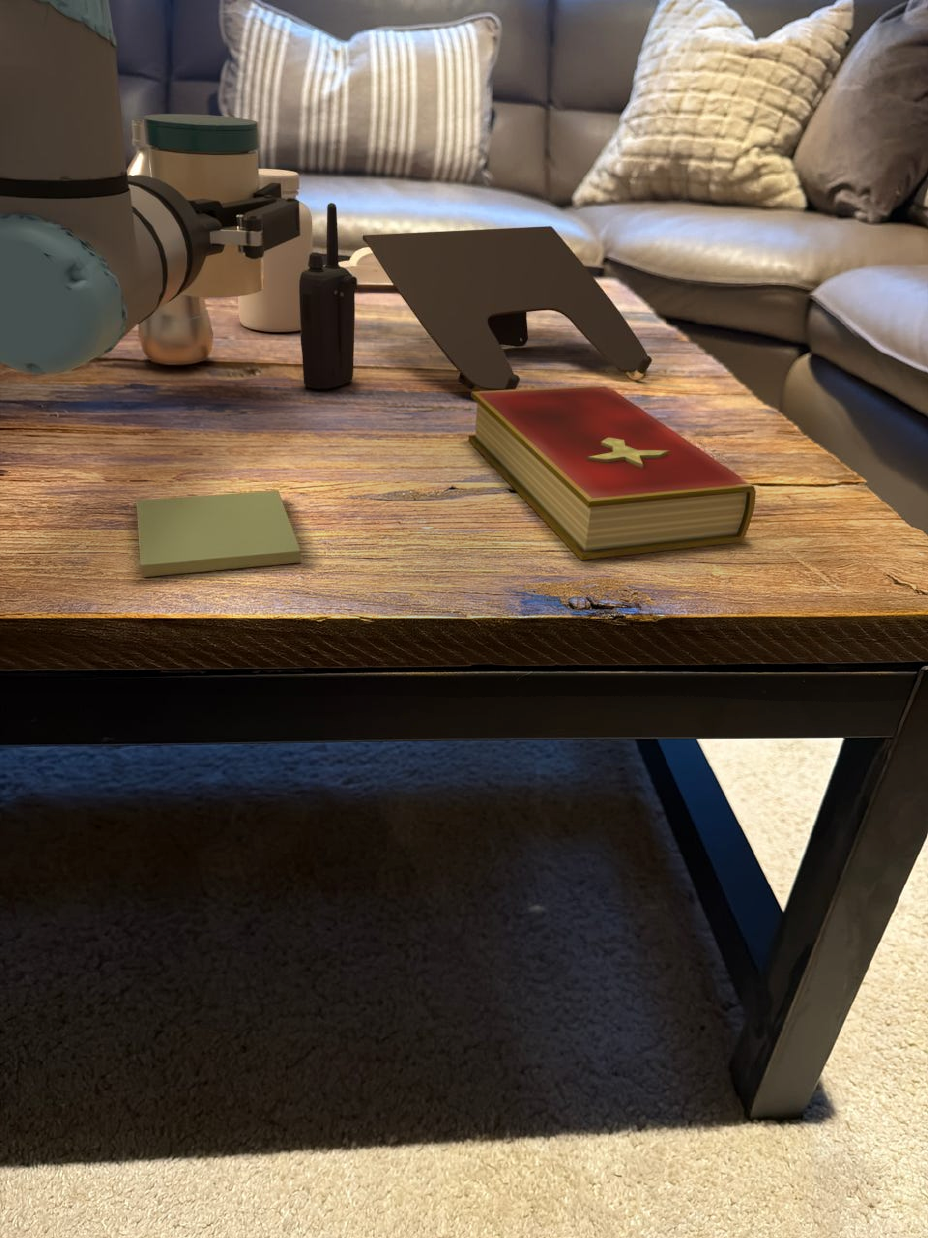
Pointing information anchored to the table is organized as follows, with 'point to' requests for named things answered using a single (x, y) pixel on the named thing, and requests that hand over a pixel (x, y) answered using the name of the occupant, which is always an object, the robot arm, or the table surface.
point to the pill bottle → (280, 269)
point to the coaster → (214, 533)
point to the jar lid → (201, 133)
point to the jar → (224, 183)
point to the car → (366, 268)
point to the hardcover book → (609, 472)
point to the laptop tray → (500, 296)
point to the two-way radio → (327, 316)
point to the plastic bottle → (182, 321)
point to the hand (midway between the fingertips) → (223, 196)
